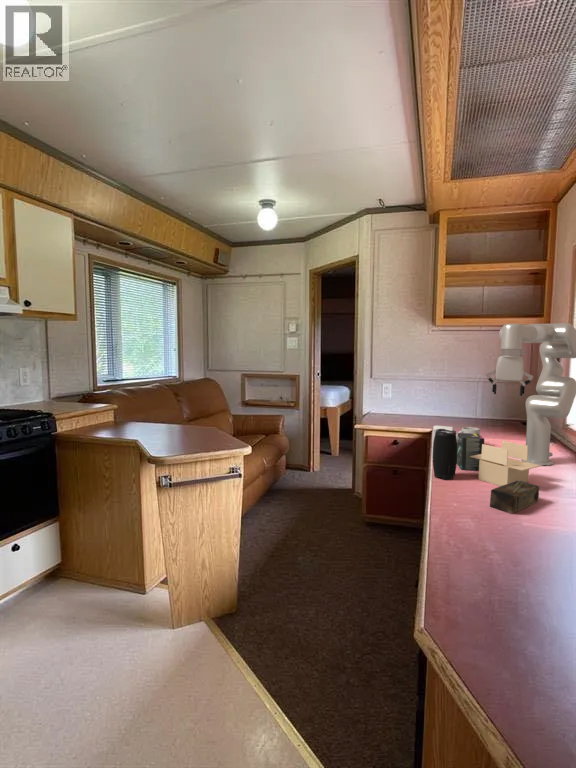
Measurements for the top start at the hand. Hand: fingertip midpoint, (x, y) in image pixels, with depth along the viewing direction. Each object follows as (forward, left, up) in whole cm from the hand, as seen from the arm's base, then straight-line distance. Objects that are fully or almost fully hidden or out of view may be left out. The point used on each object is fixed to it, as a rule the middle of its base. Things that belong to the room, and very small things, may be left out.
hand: (507, 394), depth 170 cm
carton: (+10, +6, -34) cm, 36 cm away
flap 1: (+16, +6, -22) cm, 28 cm away
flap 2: (+3, +6, -22) cm, 23 cm away
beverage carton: (+30, +23, -34) cm, 51 cm away
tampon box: (+5, -13, -34) cm, 37 cm away
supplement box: (+2, -31, -34) cm, 46 cm away
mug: (-29, -39, -34) cm, 60 cm away
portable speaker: (+26, -9, -34) cm, 44 cm away
